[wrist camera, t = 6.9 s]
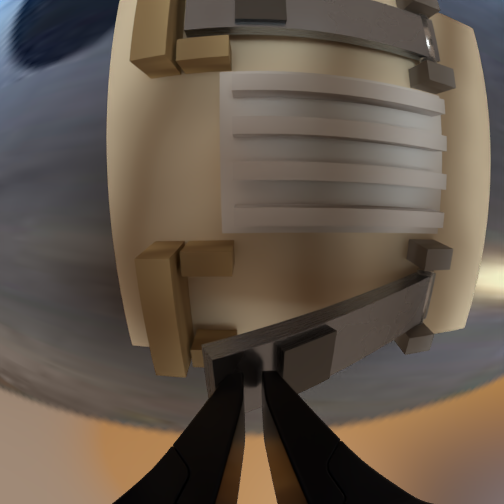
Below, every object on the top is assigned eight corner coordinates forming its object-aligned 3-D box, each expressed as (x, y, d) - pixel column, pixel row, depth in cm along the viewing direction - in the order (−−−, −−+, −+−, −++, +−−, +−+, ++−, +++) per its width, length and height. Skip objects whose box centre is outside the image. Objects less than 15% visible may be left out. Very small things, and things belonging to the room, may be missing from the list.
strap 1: (422, 23, 9) (434, 16, 8) (431, 67, 10) (444, 62, 9) (190, -6, 9) (187, -19, 8) (187, 41, 10) (182, 30, 8)
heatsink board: (464, 32, 10) (501, 15, 6) (456, 320, 15) (490, 351, 11) (127, 3, 10) (97, -31, 6) (138, 335, 15) (112, 379, 12)
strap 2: (422, 266, 13) (441, 272, 12) (413, 314, 14) (429, 322, 13) (199, 339, 8) (216, 362, 7) (209, 408, 8) (224, 431, 7)
